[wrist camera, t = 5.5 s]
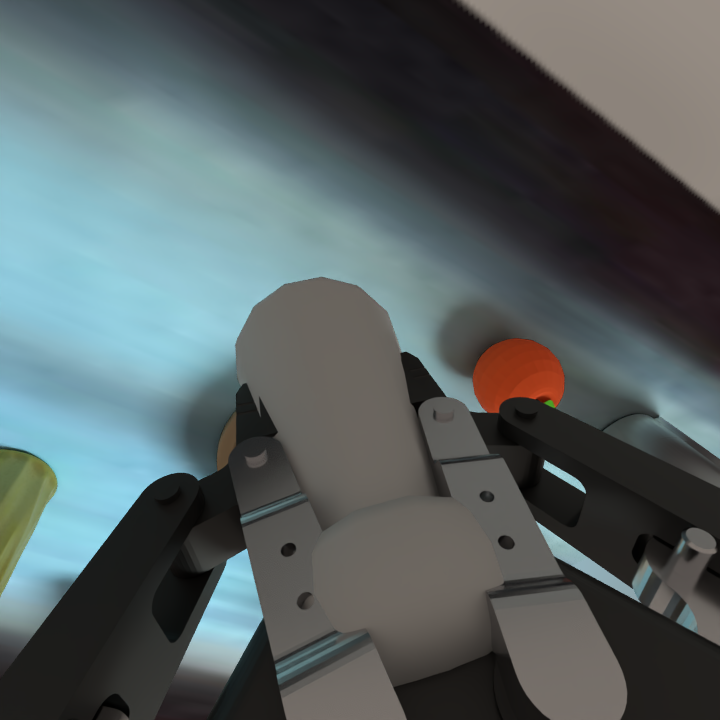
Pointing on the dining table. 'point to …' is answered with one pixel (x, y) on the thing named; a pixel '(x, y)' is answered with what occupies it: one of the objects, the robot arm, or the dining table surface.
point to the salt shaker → (368, 479)
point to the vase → (20, 504)
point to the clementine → (517, 374)
